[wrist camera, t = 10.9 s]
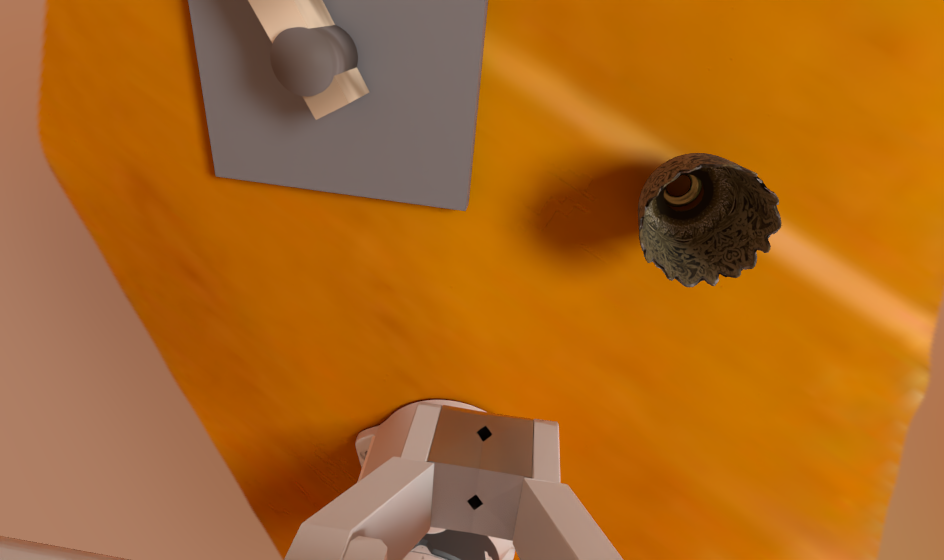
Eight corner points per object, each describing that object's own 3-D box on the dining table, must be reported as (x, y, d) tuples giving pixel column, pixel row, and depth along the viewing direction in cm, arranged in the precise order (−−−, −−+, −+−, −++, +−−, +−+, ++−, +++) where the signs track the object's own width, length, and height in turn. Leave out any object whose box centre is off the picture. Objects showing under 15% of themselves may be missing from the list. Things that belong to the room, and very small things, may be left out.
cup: (601, 184, 37) (612, 229, 30) (689, 106, 33) (725, 136, 27) (668, 252, 38) (694, 309, 32) (758, 185, 35) (809, 231, 28)
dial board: (468, 203, 39) (465, 212, 37) (222, 169, 40) (210, 176, 39) (510, -229, 27) (507, -242, 25) (159, -257, 28) (137, -271, 27)
